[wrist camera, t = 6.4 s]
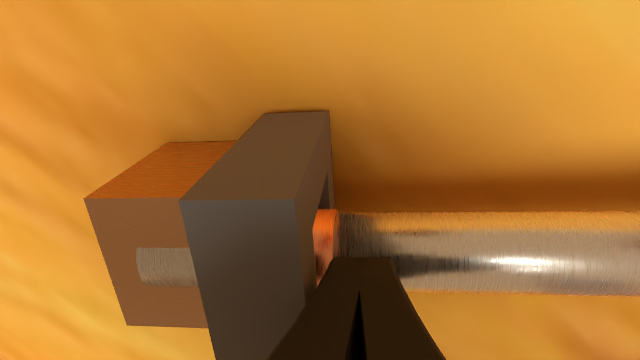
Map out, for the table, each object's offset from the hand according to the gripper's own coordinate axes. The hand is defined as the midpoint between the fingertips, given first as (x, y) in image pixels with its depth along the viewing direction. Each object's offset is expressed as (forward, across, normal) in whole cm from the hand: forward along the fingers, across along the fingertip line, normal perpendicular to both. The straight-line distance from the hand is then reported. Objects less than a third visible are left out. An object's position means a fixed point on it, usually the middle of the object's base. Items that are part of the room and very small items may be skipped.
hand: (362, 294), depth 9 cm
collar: (+5, +2, 0) cm, 6 cm away
